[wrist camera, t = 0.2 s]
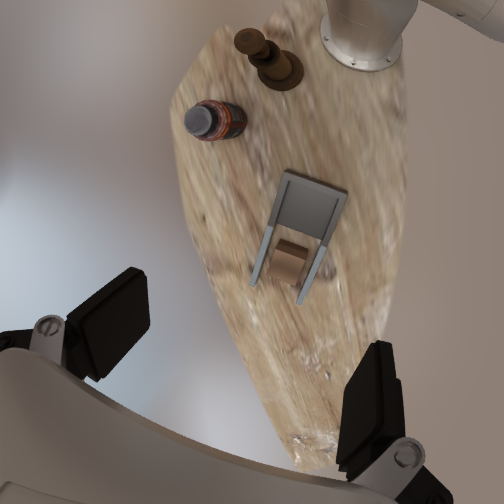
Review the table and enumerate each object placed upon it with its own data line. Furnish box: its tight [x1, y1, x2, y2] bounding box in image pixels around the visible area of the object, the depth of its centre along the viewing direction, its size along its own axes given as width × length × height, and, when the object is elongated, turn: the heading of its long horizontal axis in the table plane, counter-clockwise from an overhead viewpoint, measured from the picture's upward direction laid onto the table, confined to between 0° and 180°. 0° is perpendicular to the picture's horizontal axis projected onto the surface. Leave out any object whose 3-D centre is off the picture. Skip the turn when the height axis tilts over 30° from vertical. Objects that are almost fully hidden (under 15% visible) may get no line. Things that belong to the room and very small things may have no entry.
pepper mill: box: [234, 28, 303, 91], centre depth 28 cm, size 7×6×18 cm
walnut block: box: [266, 239, 308, 286], centre depth 47 cm, size 5×5×4 cm
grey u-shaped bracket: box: [249, 170, 348, 305], centre depth 46 cm, size 21×10×2 cm, turn 165°
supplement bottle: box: [184, 100, 247, 141], centre depth 37 cm, size 6×6×11 cm
